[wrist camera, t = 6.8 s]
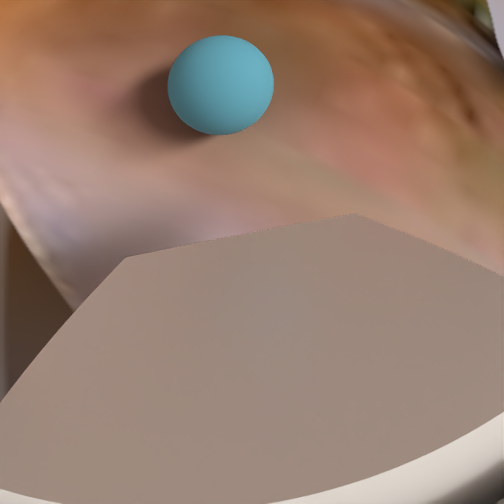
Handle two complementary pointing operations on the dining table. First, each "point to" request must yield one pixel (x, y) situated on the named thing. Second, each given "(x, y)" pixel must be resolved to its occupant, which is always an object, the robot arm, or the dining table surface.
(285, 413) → the cream matte cube
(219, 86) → the ball
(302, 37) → the dining table surface
